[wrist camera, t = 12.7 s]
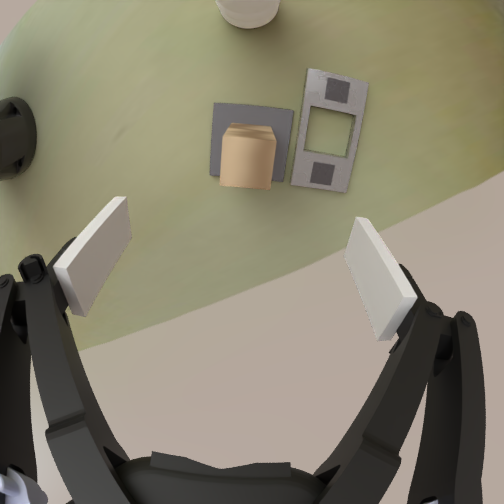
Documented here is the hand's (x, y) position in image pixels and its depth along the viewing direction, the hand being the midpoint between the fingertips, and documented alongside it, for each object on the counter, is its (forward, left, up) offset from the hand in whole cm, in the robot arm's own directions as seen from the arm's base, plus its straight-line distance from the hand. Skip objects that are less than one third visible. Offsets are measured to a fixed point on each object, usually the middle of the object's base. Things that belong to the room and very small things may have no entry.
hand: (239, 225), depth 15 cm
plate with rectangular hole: (+10, +3, -23) cm, 25 cm away
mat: (0, 0, -23) cm, 23 cm away
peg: (0, 0, -22) cm, 22 cm away
